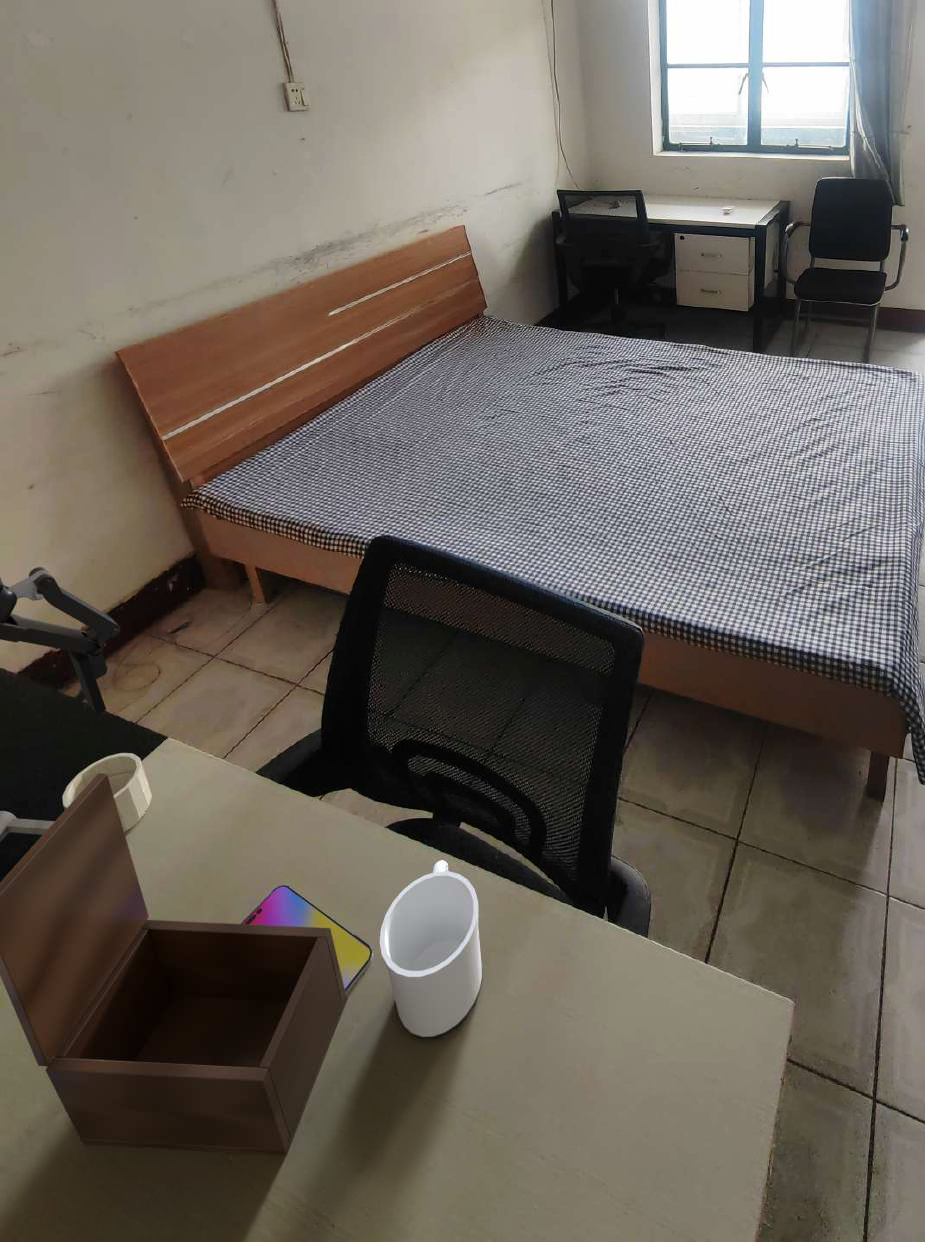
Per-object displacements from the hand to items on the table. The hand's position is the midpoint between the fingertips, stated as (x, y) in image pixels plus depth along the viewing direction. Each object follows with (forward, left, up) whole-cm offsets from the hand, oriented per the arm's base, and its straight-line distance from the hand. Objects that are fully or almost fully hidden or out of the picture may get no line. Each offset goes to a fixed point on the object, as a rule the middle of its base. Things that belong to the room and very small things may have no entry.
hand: (6, 757), depth 62 cm
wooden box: (+21, -9, -26) cm, 35 cm away
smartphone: (+23, 0, -27) cm, 35 cm away
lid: (+13, -9, -6) cm, 17 cm away
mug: (+38, -2, -26) cm, 47 cm away
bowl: (-8, +13, -26) cm, 30 cm away
